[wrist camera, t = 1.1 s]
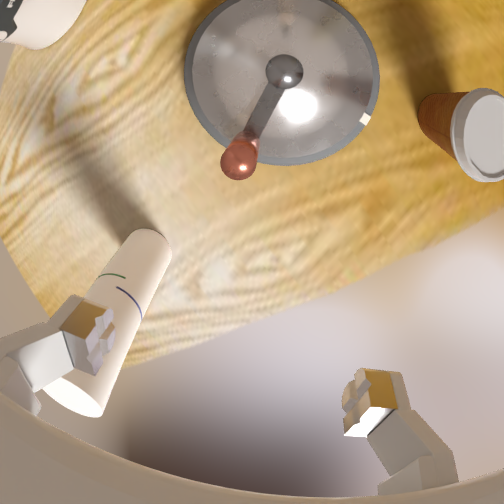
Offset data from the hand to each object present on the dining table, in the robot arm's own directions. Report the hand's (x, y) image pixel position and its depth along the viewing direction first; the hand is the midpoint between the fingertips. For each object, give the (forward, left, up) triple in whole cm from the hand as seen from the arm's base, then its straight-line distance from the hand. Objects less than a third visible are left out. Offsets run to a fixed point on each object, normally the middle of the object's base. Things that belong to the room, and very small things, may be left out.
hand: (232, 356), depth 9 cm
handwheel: (-8, +3, -27) cm, 28 cm away
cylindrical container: (+13, -17, -29) cm, 36 cm away
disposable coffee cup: (-5, +22, -29) cm, 37 cm away
